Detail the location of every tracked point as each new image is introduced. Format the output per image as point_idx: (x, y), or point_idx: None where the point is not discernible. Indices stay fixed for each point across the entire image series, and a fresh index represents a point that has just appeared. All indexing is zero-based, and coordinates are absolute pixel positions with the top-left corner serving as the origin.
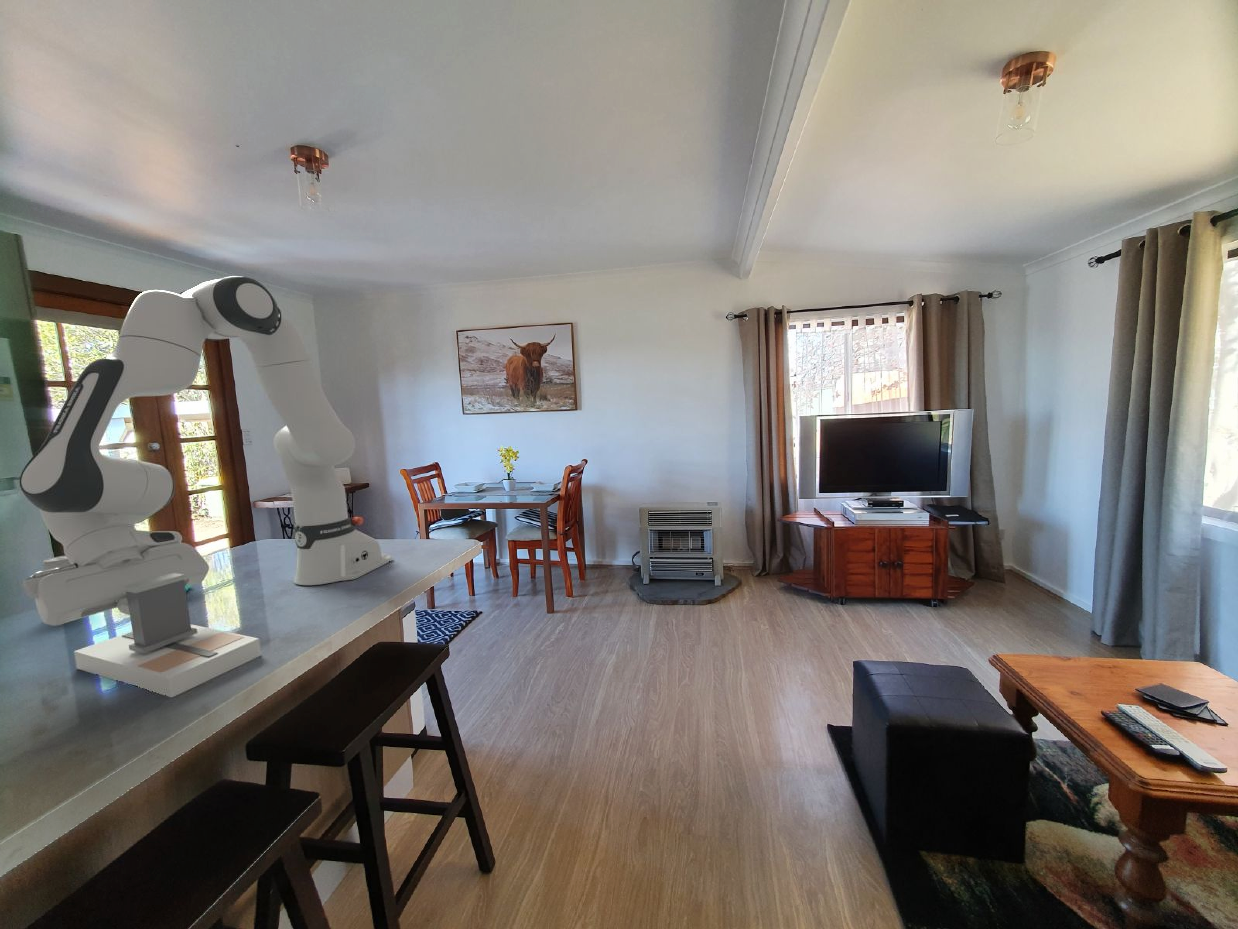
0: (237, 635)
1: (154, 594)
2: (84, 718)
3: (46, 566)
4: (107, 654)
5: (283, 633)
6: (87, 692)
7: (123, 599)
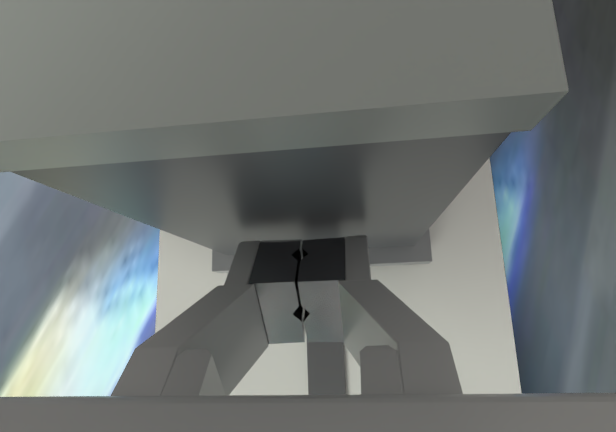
0: None
1: None
2: (607, 39)
3: None
4: (480, 360)
5: None
6: (555, 236)
7: (440, 392)
